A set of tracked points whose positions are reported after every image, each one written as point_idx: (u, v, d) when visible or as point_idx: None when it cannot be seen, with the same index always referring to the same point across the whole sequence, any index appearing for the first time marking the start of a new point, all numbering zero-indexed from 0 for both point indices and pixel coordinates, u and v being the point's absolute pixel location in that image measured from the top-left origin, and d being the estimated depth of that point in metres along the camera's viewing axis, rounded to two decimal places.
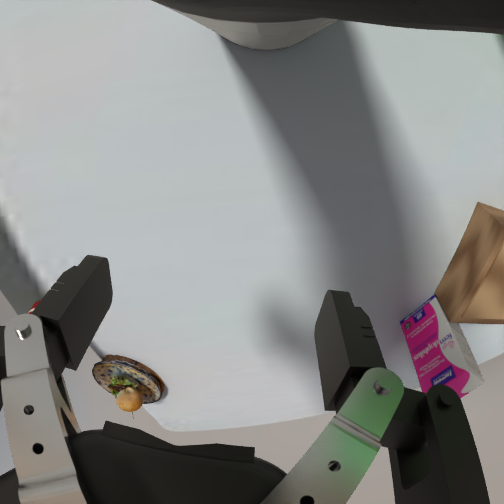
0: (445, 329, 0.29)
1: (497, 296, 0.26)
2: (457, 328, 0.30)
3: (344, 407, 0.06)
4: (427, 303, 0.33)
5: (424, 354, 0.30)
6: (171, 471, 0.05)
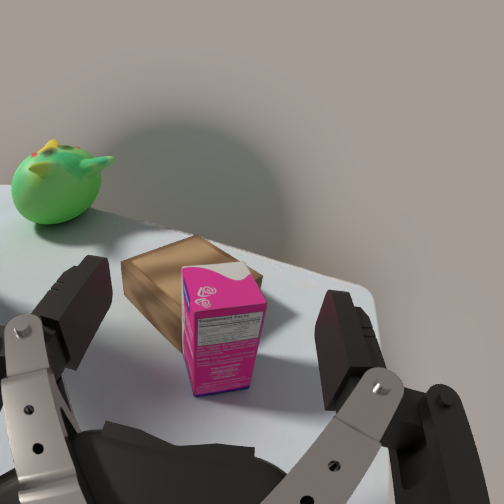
0: (182, 323, 0.29)
1: None
2: None
3: (344, 407, 0.06)
4: (185, 360, 0.31)
5: (188, 341, 0.25)
6: (171, 471, 0.05)
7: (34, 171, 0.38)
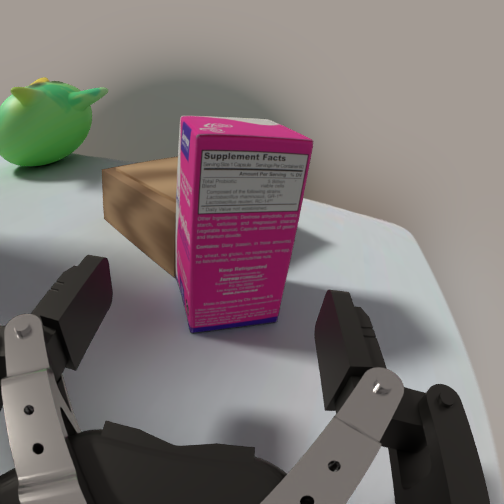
0: (176, 214, 0.19)
1: None
2: None
3: (344, 407, 0.06)
4: (178, 283, 0.21)
5: (184, 221, 0.16)
6: (171, 471, 0.05)
7: (17, 94, 0.29)
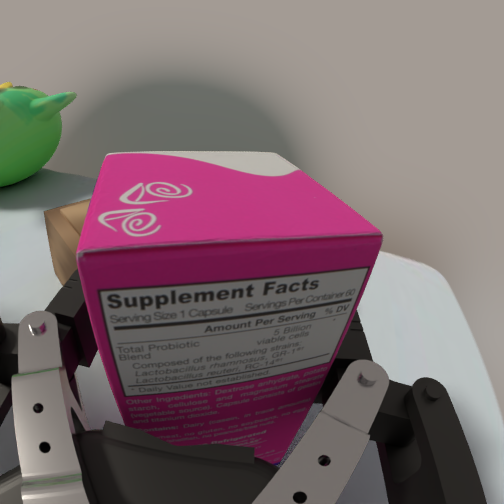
0: None
1: None
2: None
3: (330, 401, 0.07)
4: None
5: None
6: (171, 471, 0.05)
7: None
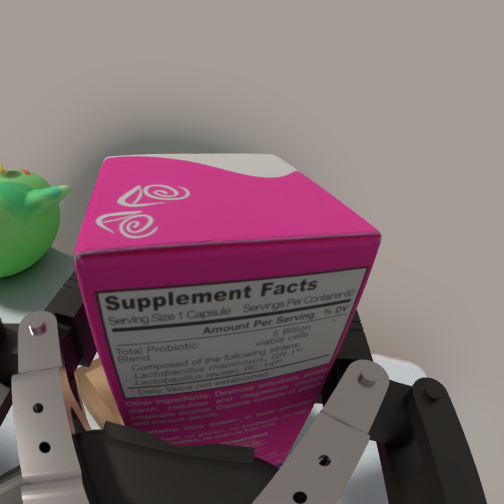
0: None
1: None
2: None
3: (330, 401, 0.07)
4: None
5: None
6: (171, 471, 0.05)
7: None
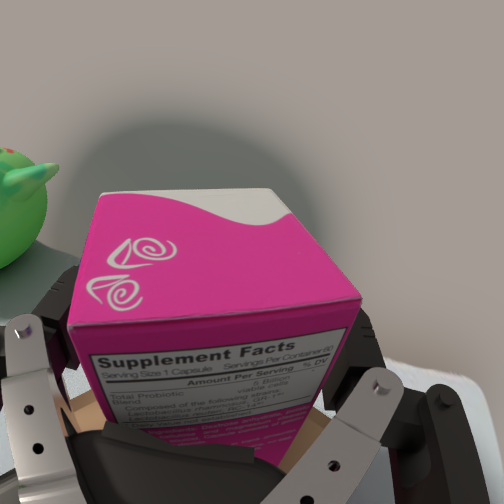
0: None
1: None
2: None
3: (344, 407, 0.06)
4: None
5: None
6: (171, 471, 0.05)
7: None
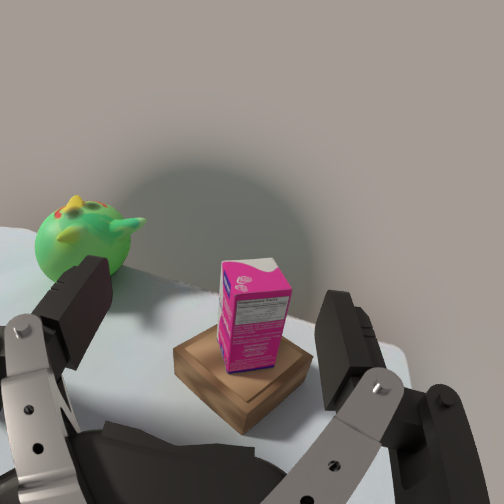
0: (219, 310, 0.35)
1: None
2: None
3: (344, 407, 0.06)
4: (219, 344, 0.37)
5: (226, 322, 0.31)
6: (171, 471, 0.05)
7: (63, 242, 0.39)
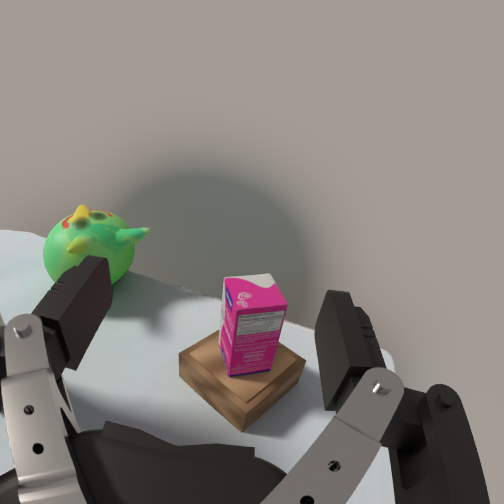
0: (221, 319, 0.38)
1: None
2: None
3: (344, 407, 0.06)
4: (220, 349, 0.40)
5: (228, 332, 0.35)
6: (171, 471, 0.05)
7: (73, 253, 0.41)
